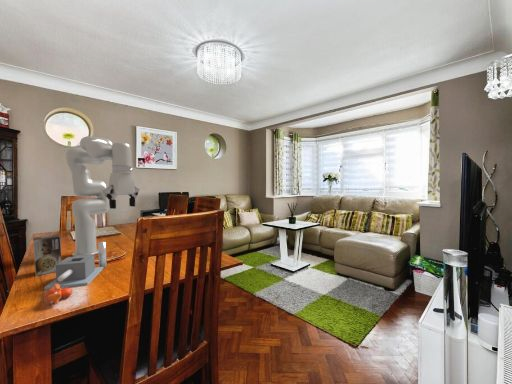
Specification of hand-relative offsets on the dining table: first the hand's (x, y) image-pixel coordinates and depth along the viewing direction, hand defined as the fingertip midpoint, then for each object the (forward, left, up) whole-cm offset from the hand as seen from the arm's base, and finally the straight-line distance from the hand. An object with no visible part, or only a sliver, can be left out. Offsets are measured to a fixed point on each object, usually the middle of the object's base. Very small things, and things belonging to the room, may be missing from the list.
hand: (123, 207), depth 106 cm
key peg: (-7, -11, -29) cm, 32 cm away
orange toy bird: (+24, -15, -30) cm, 41 cm away
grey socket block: (+7, -17, -29) cm, 35 cm away
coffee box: (-8, -33, -30) cm, 45 cm away
